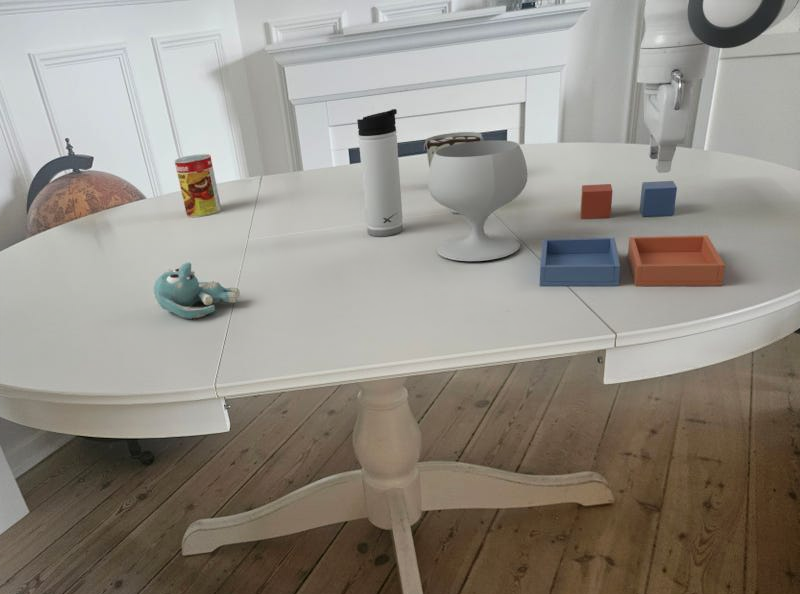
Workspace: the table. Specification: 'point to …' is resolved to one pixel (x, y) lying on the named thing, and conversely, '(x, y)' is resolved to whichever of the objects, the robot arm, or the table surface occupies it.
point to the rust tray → (675, 261)
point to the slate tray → (579, 262)
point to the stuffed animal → (190, 293)
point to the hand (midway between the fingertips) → (658, 164)
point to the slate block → (658, 198)
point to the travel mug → (380, 173)
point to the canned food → (198, 185)
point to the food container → (449, 141)
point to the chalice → (477, 193)
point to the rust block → (596, 201)
